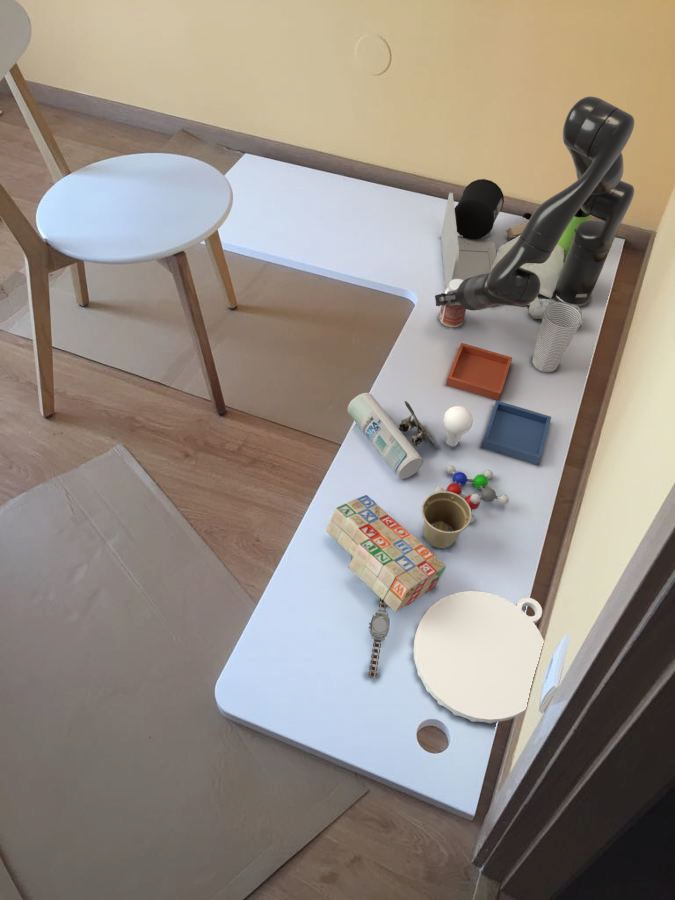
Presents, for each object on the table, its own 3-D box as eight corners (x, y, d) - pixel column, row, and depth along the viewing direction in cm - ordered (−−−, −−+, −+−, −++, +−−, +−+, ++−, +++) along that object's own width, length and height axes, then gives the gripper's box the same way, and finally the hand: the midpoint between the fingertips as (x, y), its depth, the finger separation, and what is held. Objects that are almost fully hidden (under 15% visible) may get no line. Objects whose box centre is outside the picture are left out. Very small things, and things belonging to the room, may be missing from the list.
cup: (566, 358, 179) (586, 309, 167) (557, 381, 174) (577, 332, 162) (532, 346, 181) (549, 297, 169) (522, 369, 176) (540, 319, 164)
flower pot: (449, 564, 142) (458, 541, 135) (407, 541, 145) (412, 517, 138) (471, 530, 147) (479, 505, 140) (429, 508, 150) (436, 483, 143)
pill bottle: (468, 322, 185) (477, 288, 177) (449, 331, 183) (457, 296, 174) (452, 308, 188) (460, 273, 180) (433, 316, 186) (441, 281, 177)
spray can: (392, 481, 152) (342, 415, 162) (414, 477, 156) (364, 413, 166) (406, 459, 148) (354, 393, 158) (429, 455, 152) (376, 391, 162)
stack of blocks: (355, 516, 148) (314, 535, 139) (366, 493, 145) (324, 511, 136) (433, 589, 139) (394, 613, 130) (447, 566, 136) (408, 589, 127)
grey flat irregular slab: (484, 281, 188) (511, 214, 205) (480, 294, 192) (506, 227, 209) (552, 303, 186) (573, 234, 203) (546, 317, 190) (567, 247, 206)
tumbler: (574, 247, 207) (594, 191, 194) (577, 263, 202) (597, 207, 189) (547, 244, 207) (566, 188, 194) (549, 260, 203) (568, 204, 189)
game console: (503, 307, 189) (518, 259, 177) (446, 304, 189) (456, 254, 177) (493, 241, 207) (505, 192, 195) (440, 237, 206) (449, 188, 194)
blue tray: (493, 407, 168) (496, 400, 166) (548, 423, 166) (551, 416, 164) (480, 447, 161) (483, 440, 159) (537, 465, 159) (541, 458, 157)
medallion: (485, 749, 119) (482, 754, 121) (588, 649, 131) (584, 654, 132) (386, 641, 129) (385, 647, 131) (490, 557, 141) (487, 564, 143)
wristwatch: (392, 600, 137) (394, 595, 132) (380, 680, 131) (381, 678, 127) (372, 596, 137) (374, 591, 132) (360, 677, 132) (361, 674, 127)
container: (448, 241, 207) (465, 209, 218) (491, 246, 203) (506, 213, 214) (448, 201, 198) (466, 170, 209) (493, 205, 194) (509, 173, 205)
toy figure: (525, 232, 201) (560, 221, 208) (516, 211, 201) (552, 200, 208) (508, 243, 207) (542, 232, 215) (499, 222, 207) (534, 211, 214)
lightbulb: (468, 438, 162) (478, 404, 154) (461, 458, 159) (471, 425, 150) (441, 430, 163) (449, 396, 155) (434, 450, 160) (442, 417, 151)
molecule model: (424, 479, 158) (436, 524, 147) (430, 453, 153) (442, 497, 142) (493, 481, 159) (509, 526, 149) (500, 454, 155) (517, 499, 144)
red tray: (459, 350, 179) (461, 342, 177) (510, 364, 177) (512, 357, 175) (445, 385, 172) (447, 377, 170) (498, 400, 170) (501, 393, 168)
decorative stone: (526, 325, 186) (532, 309, 182) (527, 308, 190) (532, 292, 186) (579, 334, 185) (586, 318, 181) (579, 316, 189) (585, 301, 185)
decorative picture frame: (439, 462, 154) (414, 456, 164) (458, 439, 155) (433, 435, 165) (403, 422, 150) (380, 419, 160) (423, 399, 151) (399, 397, 161)
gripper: (507, 271, 167) (476, 279, 184) (448, 279, 164) (422, 287, 181) (511, 304, 168) (480, 310, 185) (452, 313, 165) (426, 318, 182)
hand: (452, 299), depth 183 cm, fingers closed on pill bottle, 6 cm apart
